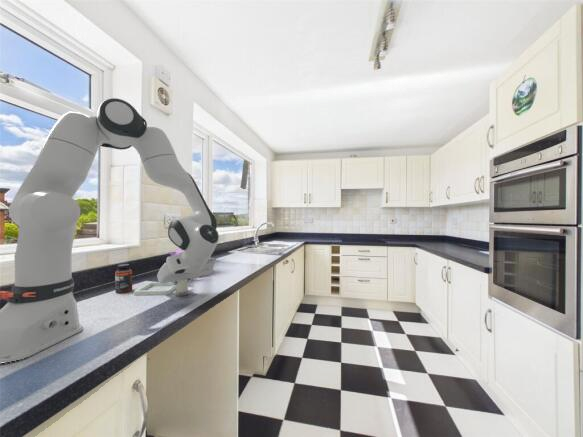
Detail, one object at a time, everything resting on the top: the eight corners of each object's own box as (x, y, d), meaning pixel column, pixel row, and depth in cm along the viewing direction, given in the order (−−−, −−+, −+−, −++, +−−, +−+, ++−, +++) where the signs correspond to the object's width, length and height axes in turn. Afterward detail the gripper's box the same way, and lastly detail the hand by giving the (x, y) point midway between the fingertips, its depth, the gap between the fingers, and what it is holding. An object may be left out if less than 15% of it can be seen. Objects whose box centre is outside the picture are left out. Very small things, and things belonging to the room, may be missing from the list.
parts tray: (167, 297, 97) (167, 290, 97) (133, 297, 96) (133, 291, 96) (180, 287, 110) (180, 281, 110) (150, 287, 109) (150, 282, 109)
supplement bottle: (129, 288, 108) (129, 262, 108) (134, 291, 104) (134, 264, 104) (113, 291, 104) (113, 264, 103) (117, 294, 100) (117, 266, 100)
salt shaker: (185, 296, 95) (185, 270, 95) (173, 296, 95) (173, 271, 94) (189, 292, 100) (189, 268, 99) (178, 293, 99) (178, 268, 99)
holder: (198, 297, 98) (198, 294, 98) (175, 303, 91) (175, 300, 91) (187, 292, 103) (187, 289, 103) (165, 297, 97) (165, 295, 97)
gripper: (214, 251, 100) (202, 271, 107) (162, 257, 85) (151, 280, 91) (221, 263, 97) (207, 283, 104) (167, 272, 82) (156, 295, 88)
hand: (181, 282), depth 97 cm, fingers closed on salt shaker, 4 cm apart
